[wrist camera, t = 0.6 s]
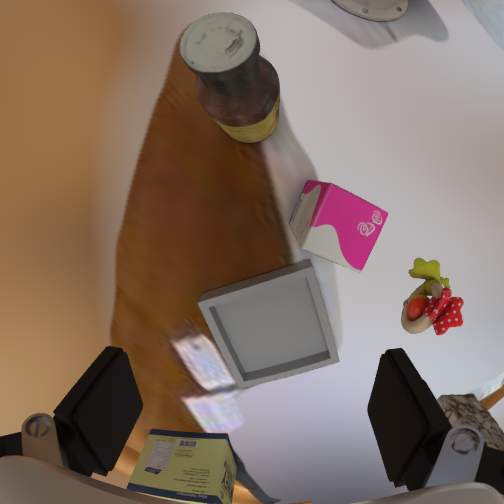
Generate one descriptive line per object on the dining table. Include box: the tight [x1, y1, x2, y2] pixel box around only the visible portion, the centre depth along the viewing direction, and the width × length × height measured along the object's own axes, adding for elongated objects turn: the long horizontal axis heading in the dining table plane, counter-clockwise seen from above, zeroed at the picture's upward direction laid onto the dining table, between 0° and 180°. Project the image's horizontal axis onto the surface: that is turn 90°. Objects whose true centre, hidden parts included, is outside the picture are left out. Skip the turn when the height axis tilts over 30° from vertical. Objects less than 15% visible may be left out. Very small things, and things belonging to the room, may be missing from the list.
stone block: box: [437, 394, 504, 451], centre depth 31 cm, size 13×7×20 cm, turn 79°
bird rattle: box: [401, 258, 464, 335], centre depth 30 cm, size 6×11×9 cm
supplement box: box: [289, 180, 388, 273], centre depth 27 cm, size 6×6×12 cm
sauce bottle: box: [180, 13, 280, 143], centre depth 21 cm, size 7×6×20 cm
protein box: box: [127, 429, 237, 504], centre depth 38 cm, size 10×16×16 cm
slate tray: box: [198, 259, 339, 388], centre depth 36 cm, size 14×14×3 cm
